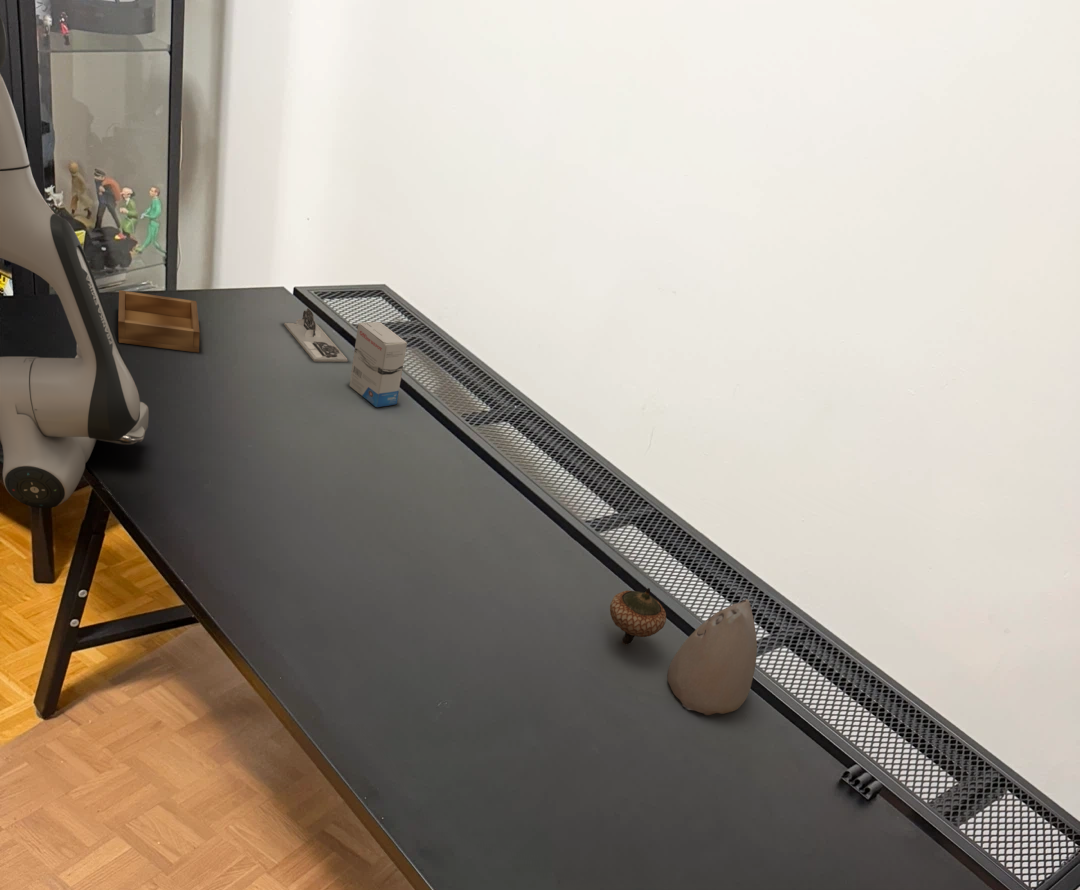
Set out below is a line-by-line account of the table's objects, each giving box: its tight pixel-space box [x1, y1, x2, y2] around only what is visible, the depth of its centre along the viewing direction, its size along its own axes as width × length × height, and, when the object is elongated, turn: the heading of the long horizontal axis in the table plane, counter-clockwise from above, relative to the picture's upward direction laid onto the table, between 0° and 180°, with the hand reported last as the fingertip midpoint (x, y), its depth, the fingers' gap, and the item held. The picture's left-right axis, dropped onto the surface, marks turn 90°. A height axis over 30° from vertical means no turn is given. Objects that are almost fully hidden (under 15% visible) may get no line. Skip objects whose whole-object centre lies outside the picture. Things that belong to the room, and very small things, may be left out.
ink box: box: [348, 321, 408, 408], centre depth 179 cm, size 9×5×12 cm, turn 42°
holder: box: [117, 289, 201, 354], centre depth 179 cm, size 13×13×4 cm
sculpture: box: [667, 598, 758, 716], centre depth 138 cm, size 13×12×15 cm
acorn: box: [609, 587, 667, 646], centre depth 143 cm, size 8×8×10 cm
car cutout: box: [283, 308, 349, 363], centre depth 191 cm, size 15×7×4 cm, turn 31°
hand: (82, 385), depth 150 cm, fingers open, 8 cm apart
